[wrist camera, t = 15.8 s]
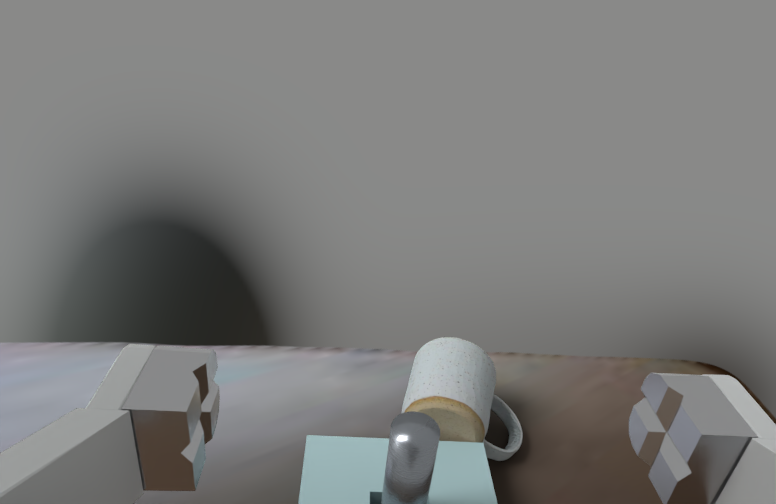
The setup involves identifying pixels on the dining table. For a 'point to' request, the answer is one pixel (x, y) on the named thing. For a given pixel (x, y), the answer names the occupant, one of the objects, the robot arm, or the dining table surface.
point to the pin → (410, 459)
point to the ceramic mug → (460, 394)
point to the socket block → (367, 470)
